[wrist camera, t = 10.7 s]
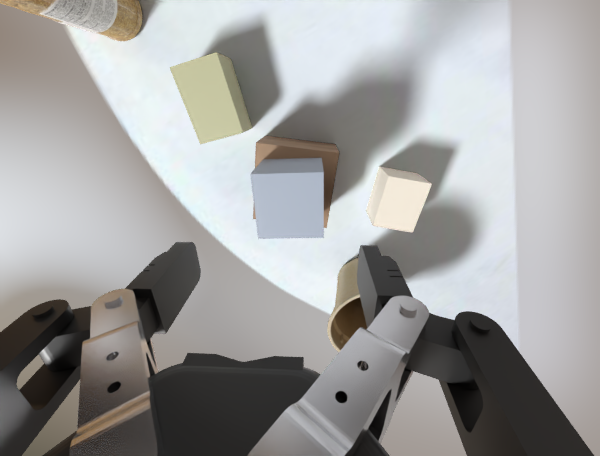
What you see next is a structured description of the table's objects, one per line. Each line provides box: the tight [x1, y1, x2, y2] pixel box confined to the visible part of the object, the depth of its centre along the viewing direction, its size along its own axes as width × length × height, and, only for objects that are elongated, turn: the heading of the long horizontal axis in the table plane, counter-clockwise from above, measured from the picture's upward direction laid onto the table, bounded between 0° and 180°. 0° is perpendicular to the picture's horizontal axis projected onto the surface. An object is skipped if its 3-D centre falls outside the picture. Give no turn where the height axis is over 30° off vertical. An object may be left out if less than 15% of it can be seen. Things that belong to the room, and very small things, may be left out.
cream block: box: [366, 166, 432, 233], centre depth 27 cm, size 5×4×4 cm
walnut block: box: [253, 136, 339, 228], centre depth 26 cm, size 7×7×5 cm
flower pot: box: [328, 258, 367, 352], centre depth 29 cm, size 9×9×9 cm
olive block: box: [170, 52, 252, 144], centre depth 24 cm, size 6×4×4 cm, turn 14°
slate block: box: [251, 158, 324, 239], centre depth 21 cm, size 5×5×5 cm
